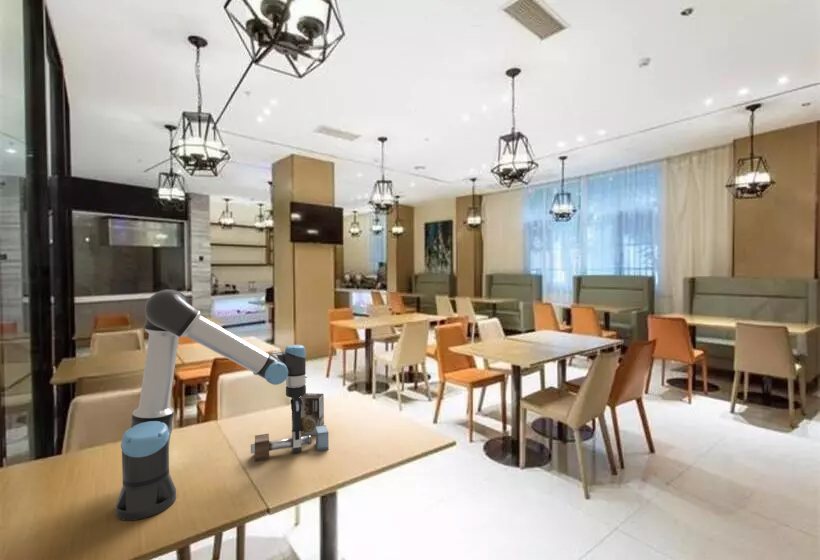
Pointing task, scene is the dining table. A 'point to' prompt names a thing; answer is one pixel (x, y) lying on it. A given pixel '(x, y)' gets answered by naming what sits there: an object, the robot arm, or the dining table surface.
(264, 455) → the sleeve
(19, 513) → the dining table surface
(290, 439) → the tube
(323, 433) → the socket
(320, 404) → the coffee box
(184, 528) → the dining table surface
